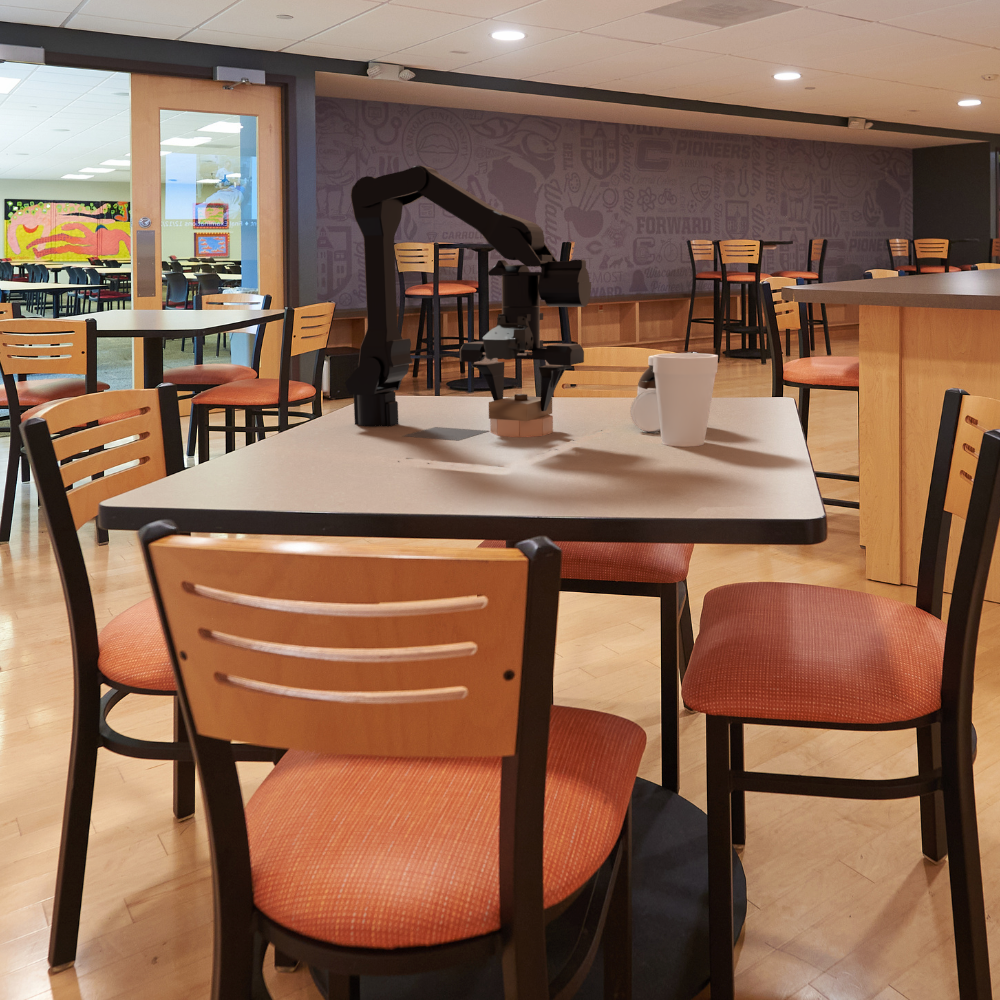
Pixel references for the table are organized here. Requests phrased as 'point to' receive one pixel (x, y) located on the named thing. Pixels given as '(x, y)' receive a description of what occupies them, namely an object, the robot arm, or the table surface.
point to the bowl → (522, 427)
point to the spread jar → (646, 402)
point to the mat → (446, 433)
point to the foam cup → (684, 396)
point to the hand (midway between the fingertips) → (521, 409)
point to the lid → (518, 408)
